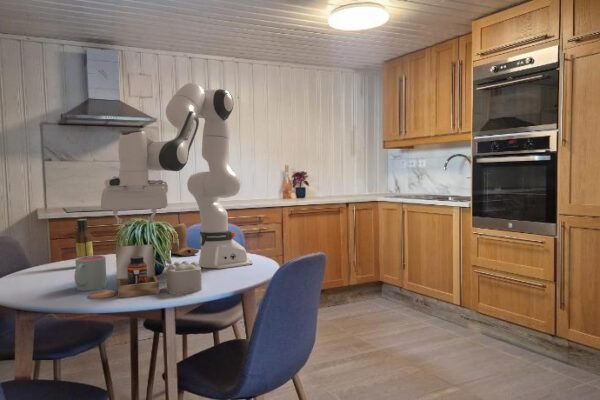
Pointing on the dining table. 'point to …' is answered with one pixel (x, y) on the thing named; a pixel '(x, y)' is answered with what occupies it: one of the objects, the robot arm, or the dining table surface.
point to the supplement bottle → (137, 270)
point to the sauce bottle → (83, 240)
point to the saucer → (102, 294)
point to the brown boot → (182, 242)
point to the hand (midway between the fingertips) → (135, 223)
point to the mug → (90, 273)
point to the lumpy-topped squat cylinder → (183, 278)
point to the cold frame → (122, 271)
